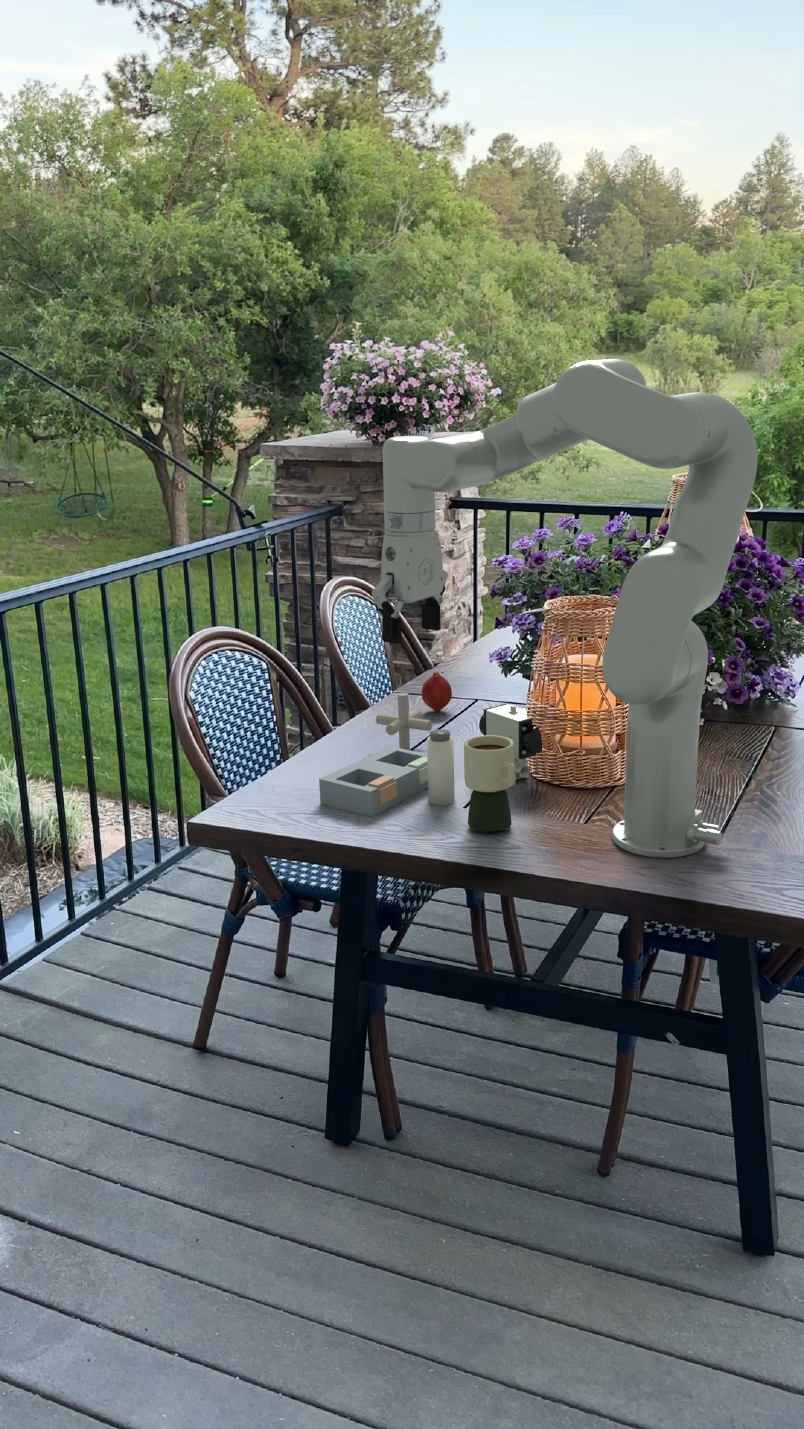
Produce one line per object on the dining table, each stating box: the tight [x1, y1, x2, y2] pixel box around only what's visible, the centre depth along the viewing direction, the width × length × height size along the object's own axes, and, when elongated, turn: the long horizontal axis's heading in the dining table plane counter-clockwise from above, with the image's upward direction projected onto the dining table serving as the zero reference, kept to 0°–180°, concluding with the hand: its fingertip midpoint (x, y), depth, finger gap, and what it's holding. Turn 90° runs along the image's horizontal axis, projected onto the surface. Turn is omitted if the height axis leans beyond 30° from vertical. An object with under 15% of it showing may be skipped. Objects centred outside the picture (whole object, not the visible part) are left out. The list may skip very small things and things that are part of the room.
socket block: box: [318, 745, 428, 818], centre depth 182 cm, size 10×18×4 cm, turn 143°
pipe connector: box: [375, 692, 433, 751], centre depth 200 cm, size 10×10×10 cm
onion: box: [421, 671, 453, 713], centre depth 221 cm, size 6×6×8 cm
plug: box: [426, 728, 456, 806], centre depth 177 cm, size 4×4×11 cm
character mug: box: [463, 735, 516, 833], centre depth 166 cm, size 11×7×13 cm, turn 35°
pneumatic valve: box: [478, 703, 542, 782], centre depth 186 cm, size 6×12×12 cm, turn 37°
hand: (412, 635), depth 177 cm, fingers open, 9 cm apart
